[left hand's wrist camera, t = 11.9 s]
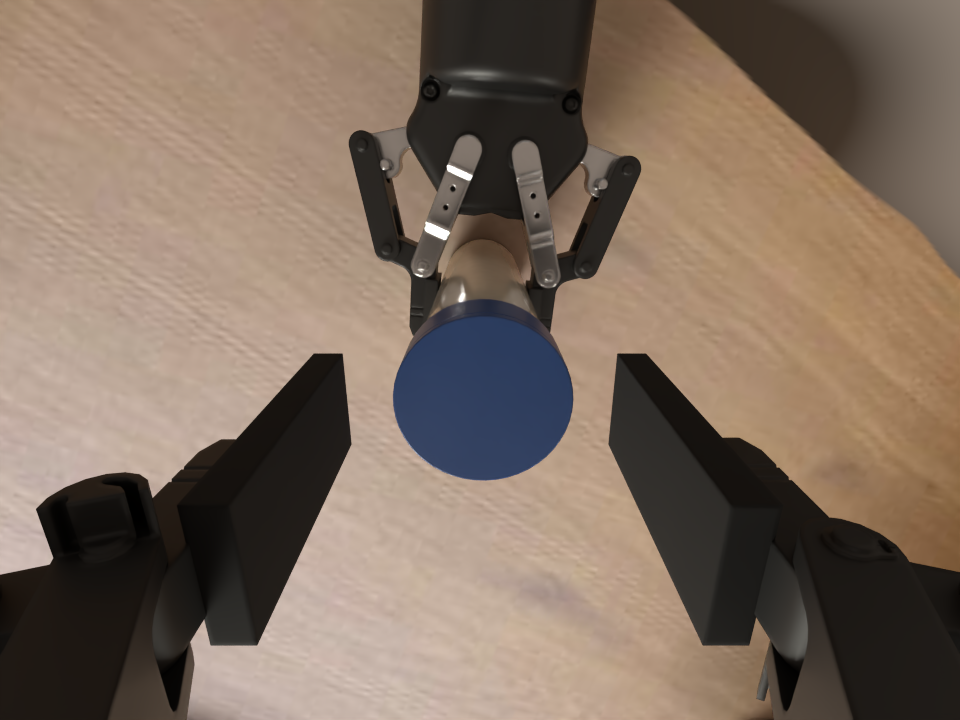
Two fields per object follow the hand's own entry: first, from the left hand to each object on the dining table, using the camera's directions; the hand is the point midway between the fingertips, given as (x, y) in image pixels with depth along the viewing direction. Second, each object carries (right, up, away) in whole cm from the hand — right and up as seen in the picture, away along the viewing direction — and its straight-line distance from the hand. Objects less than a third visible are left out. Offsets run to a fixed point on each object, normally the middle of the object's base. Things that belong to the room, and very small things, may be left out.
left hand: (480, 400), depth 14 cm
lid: (0, 0, +1) cm, 1 cm away
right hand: (0, +2, +14) cm, 14 cm away
